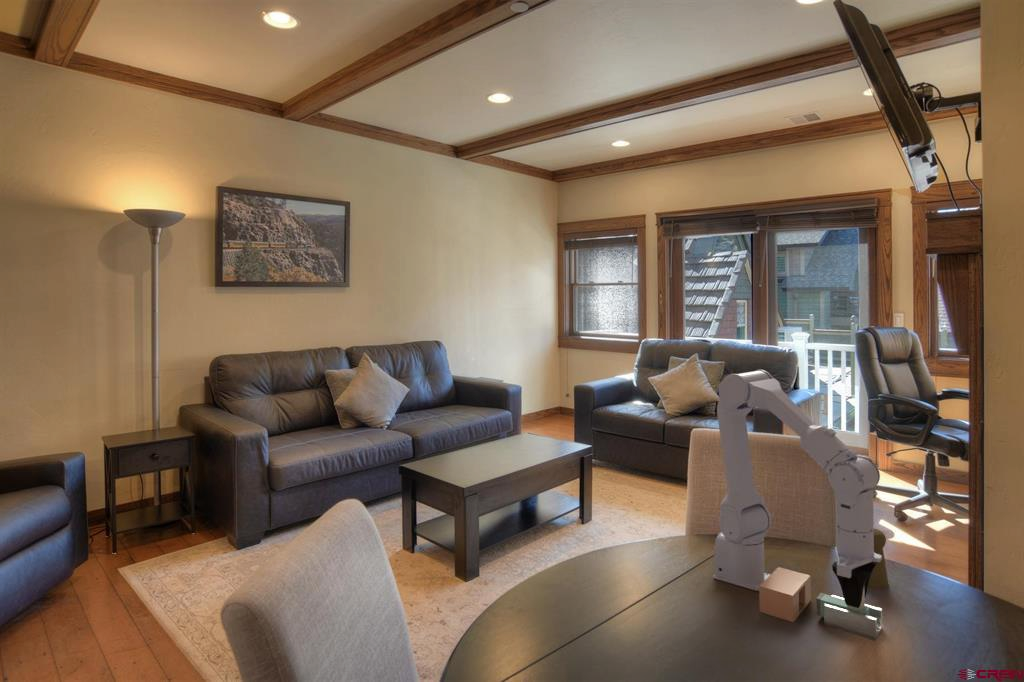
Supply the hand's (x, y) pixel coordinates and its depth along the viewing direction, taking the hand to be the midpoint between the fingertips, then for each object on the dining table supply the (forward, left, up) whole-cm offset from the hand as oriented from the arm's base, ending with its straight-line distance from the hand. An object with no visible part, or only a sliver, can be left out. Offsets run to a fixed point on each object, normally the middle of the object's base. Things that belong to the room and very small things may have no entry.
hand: (855, 601), depth 104 cm
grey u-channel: (0, 0, -5) cm, 5 cm away
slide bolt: (-2, 0, -5) cm, 5 cm away
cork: (-2, +20, -5) cm, 21 cm away
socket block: (-12, 0, -5) cm, 13 cm away
